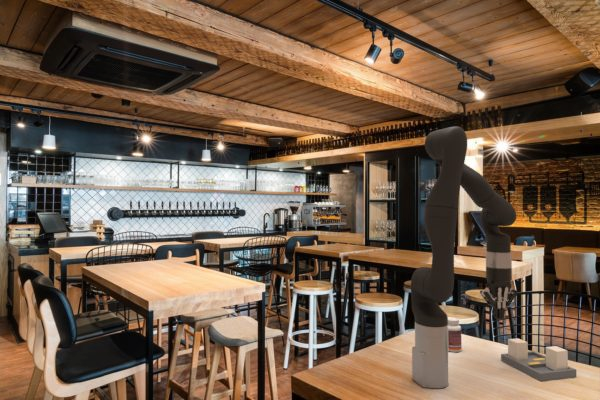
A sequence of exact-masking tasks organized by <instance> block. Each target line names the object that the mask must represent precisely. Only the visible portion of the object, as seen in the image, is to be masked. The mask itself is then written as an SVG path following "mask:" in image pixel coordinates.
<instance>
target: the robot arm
mask: <svg viewBox="0 0 600 400" xmlns="http://www.w3.org/2000/svg"><path fill="white" fill-rule="evenodd" d="M424 148H425V151H426V153H427V155H428V156H429V157H430V158H431V160H433V161H434V162H435V163H436V164H438V166H440V168H441V169H440V172H439V175H438V178H437V179H436V181H435V183H434V185H433V186H432V188H431V189H430V191H429V193H428V194H427V197H426V199H425V204H424V214H423V225H424V226H423V227H424V229H425V232H426V235H427V238H428V240H429V243H430V246H431V252H432V253H431V254H432V256H431V267H428V266H420V267H418V268H417V269H415V270H414V271H413V273H412V275H411V279H410V297H411V299H410V300H411V310H412V313H413V315H414V346H412V348H411V374H412V375H411V376H412V380H413V381H414V382H416V383H417V384H418V385H419V386H420V387H422V388H429V389H443V388H446V387H448V386H449V351H448V317H449V316H448V314H447V313H446V312H445V311H444V310H443V309H442V307H441V306H440V304H439V303H441V304H443V303H445V302H447V301H448V300H450V298H451V296H452V294H453V291H454V287H455V246H456V245H455V243H456V242H455V241H456V229H457V224H458V223H457V222H458V214H459V199H460V198H459V197H460V190H461V188H462V189H463V191H465V193H466V194H467V195H468V196H469V198H470V199H471V201H472V202H473V203H474V204H475V205H476V207H478V208H479V209H480V208H481V210H480V211H481V212H480V222H481V225H482V228H483V232H484V235H485V236H484V237H485V239H486V242H485V243H486V244H485V245H486V252H485V253H486V255H485V278H486V281H487V282H486V284H485V288H484V289H483V290H482V289H481V290H480V291H479V294H480V295H481V296H482V298H483V299H484V301H485V302H486V303H487V305H488V306H489V307H492V309H493V318H494V319H495V320H497V321H502V320H503V321H504V318H505V309H506V307H509V306H511V305H512V303H513V302H514V299H515V298H516V296H517V295H518V292H519V291H518V290H516V289H514V288H513V287H512V283H511V282H512V280H513V277H512V276H513V274H512V273H513V270H512V269H513V268H512V267H513V266H512V265H513V263H512V260H513V259H512V252H511V251H512V248H511V245H512V244H511V243H512V242H511V236H510V235H509V234H506V233H503V232H502V231H501V229H500V228H499V227H510V226H512V225H514V224H515V223H516V220H517V211H516V209H515V208H514V206H513V205H512V204H511V203H510V202H509V201H508V200H507V199H505V198H504V197H503V196H501V195H500V194H499V193H497V192H496V191H495V189H494V188H493V186H492V185H491V184H490V183H489V181H488V180H487V179H486V177H484V176H483V175H482V174H480V173H479V172H478V171H477V170H475V169H474V168H472V167H470V166H469V165H467V164H466V163H465V161H466V156H467V150H468V137H467V133H466V132H465V130H464V128H462V127H461V126H458V125H457V126H450V127H445V128H441V129H437V130H434V131H431V132H430V133H428V135H426V137H425V140H424Z"/></svg>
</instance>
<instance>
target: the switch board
mask: <svg viewBox="0 0 600 400" xmlns="http://www.w3.org/2000/svg"><path fill="white" fill-rule="evenodd" d="M500 361H501V362H502V363H505V364H507V365H509V366H510V367H512V368H514V369H516V370H518V371H520V372H522V373H524V374H526V375H527V376H529V377H531V378H534V379H536V380H537V381H539V382H545V381H553V380H562V379H563V380H564V379H571V378H577V369H576V368H574V367H572V366H569V365H568V369H563V370H552V369H550V368H548V367H546V355H544V354H542V353H539V352H537V351H535V350H528V360H519V361H517V360H515V359H513V358H511V357H509V356H508V352H507V353H501V354H500Z"/></svg>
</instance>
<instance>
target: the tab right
mask: <svg viewBox="0 0 600 400" xmlns="http://www.w3.org/2000/svg"><path fill="white" fill-rule="evenodd" d="M568 351H569V350H567V349H564V348H562V347H559V346H557V345H553V346H546V347H545V356H546V367H548V368H550V369H552V370H563V369H568V366H569V362H568V361H569V359H568V357H569V356H568V355H569V354H568V353H569V352H568Z"/></svg>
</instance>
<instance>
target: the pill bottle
mask: <svg viewBox="0 0 600 400" xmlns="http://www.w3.org/2000/svg"><path fill="white" fill-rule="evenodd" d="M447 317H448V352H451V353H460V352H461V351H462V345H463V344H462V326H461V325H459V323H460V319H459V318H457V317H453V316H447Z"/></svg>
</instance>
